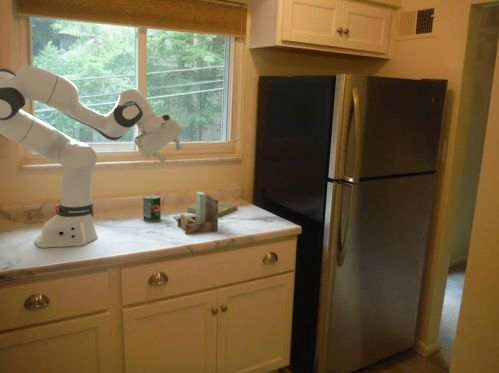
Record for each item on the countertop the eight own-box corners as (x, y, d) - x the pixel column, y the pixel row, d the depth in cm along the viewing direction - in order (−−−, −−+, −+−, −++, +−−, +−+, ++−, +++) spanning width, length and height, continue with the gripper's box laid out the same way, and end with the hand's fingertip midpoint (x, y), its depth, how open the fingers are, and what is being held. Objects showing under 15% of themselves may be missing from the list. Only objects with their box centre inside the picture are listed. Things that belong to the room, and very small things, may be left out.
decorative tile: (237, 210, 226) (237, 203, 226) (216, 219, 209) (216, 212, 208) (207, 205, 235) (207, 198, 234) (185, 213, 218) (185, 206, 217)
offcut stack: (186, 233, 185) (187, 219, 184) (180, 227, 192) (180, 214, 191) (196, 231, 187) (196, 218, 186) (189, 226, 194) (190, 213, 193)
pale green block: (199, 230, 189) (199, 194, 186) (195, 227, 194) (195, 192, 190) (205, 229, 190) (205, 194, 187) (200, 226, 195) (201, 191, 192)
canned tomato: (145, 216, 207) (145, 194, 205) (161, 217, 207) (161, 194, 205) (141, 221, 199) (141, 198, 197) (159, 221, 199) (159, 198, 197)
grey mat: (181, 224, 196) (181, 223, 196) (173, 217, 207) (173, 216, 207) (206, 222, 202) (206, 220, 202) (197, 215, 212) (197, 214, 212)
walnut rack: (187, 235, 182) (187, 202, 179) (176, 225, 194) (176, 195, 191) (217, 231, 188) (218, 200, 185) (205, 222, 200) (206, 193, 198)
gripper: (135, 136, 161) (157, 166, 164) (172, 112, 174) (192, 140, 177) (128, 141, 166) (150, 170, 169) (164, 117, 179) (184, 145, 182)
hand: (172, 155), depth 173 cm, fingers open, 8 cm apart
